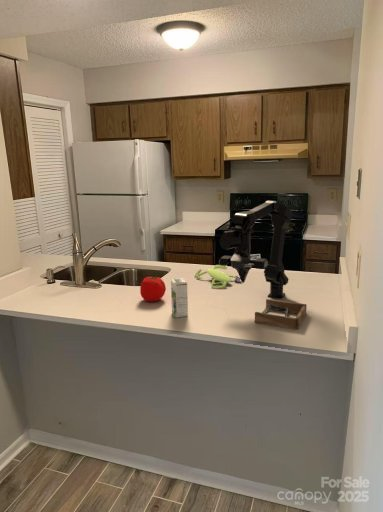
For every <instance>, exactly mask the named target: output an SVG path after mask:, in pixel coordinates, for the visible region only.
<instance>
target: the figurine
mask: <svg viewBox="0 0 383 512" xmlns="http://www.w3.org/2000/svg"><path fill="white" fill-rule="evenodd" d="M218 269H221V270H227V269H228V265H226V266H223V265H219V264H215V265H214V266H212V268H209V269H206V270H205V271H203V272H202V270H203V269H199V270H198V271H196V273H195V275H194V278H199V277H201V276H203V275H205V274H208V275H209V276H210V277H211V278H212V281H211V284H210V285H211V288H213V289H215V290H220V289H224V287H226V286H227V284H228V283H231V282H232V278H234V282H237V283H240V282H241V279H240V276H239V275H234V274H227V273H226V272H223V271H221V270H218ZM216 281H218V282H216ZM218 284H221V285H220V286H214V285H218Z"/></svg>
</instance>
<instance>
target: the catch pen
mask: <svg viewBox="0 0 383 512" xmlns="http://www.w3.org/2000/svg"><path fill="white" fill-rule="evenodd" d="M269 304H270V305H274V306H276V307H282V308H288V310H287V313H291V314H297V316H296V317H291V316H287V317H286V316H285V315H279V314H271V313H268V312H267V313H262V312H259V311H255V312H254V323H255V324H261V325H268V326H271V327H278V328H279V327H280V328H283V329H284V328H285V329H290V330H296V331H297V330H299V328H300V327H301V324H302V322H303V320H304V319H305V317H306V315H307V304H306V303H300V302H293V301H284V300H278V299H270V298H266V300H265V308H267V307H268V305H269Z"/></svg>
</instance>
